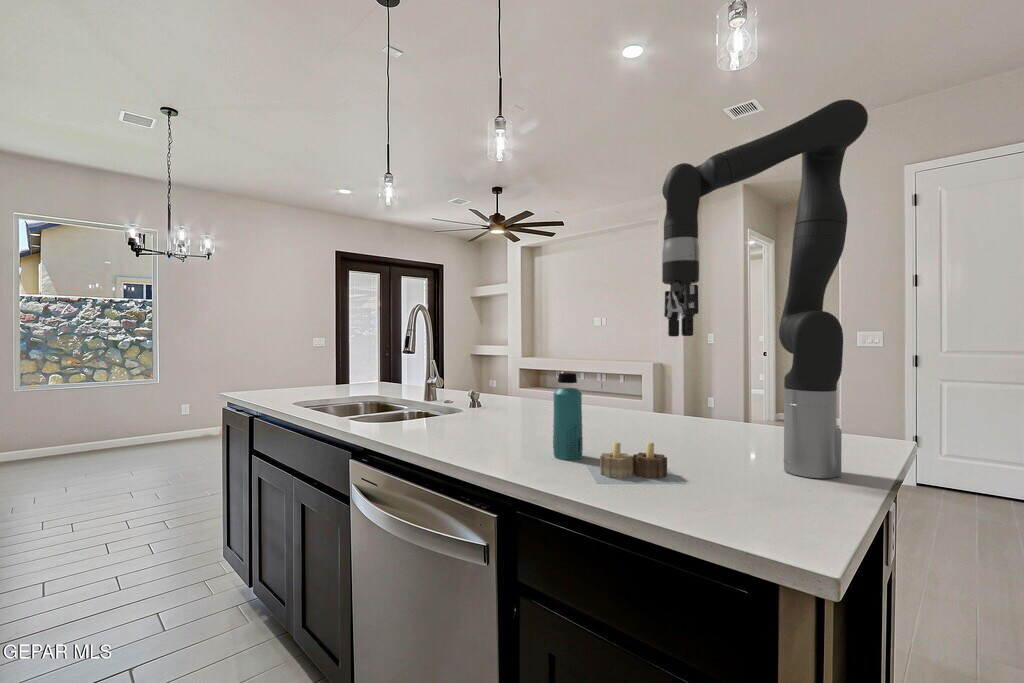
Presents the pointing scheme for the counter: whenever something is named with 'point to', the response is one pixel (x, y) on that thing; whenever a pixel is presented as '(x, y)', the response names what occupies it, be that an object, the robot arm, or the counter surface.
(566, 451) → the beverage bottle
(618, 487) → the counter surface
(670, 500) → the counter surface
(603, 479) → the gear board
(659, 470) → the walnut gear
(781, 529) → the counter surface
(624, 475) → the beech gear
